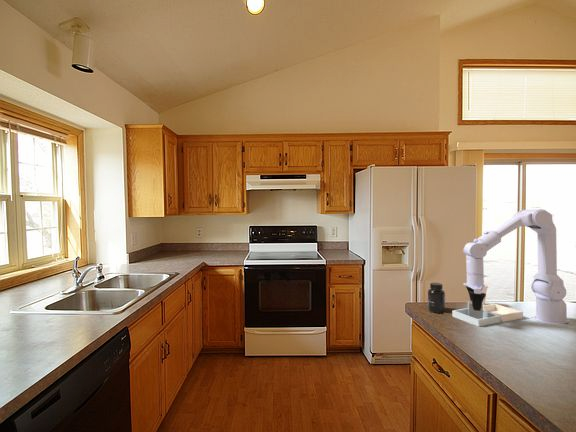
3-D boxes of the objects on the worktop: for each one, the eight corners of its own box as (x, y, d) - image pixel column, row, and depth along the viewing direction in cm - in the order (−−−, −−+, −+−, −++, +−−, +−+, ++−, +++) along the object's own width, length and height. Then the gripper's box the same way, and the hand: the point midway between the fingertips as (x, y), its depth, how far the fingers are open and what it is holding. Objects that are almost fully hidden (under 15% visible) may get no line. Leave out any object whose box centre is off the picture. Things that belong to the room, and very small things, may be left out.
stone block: (467, 316, 118) (467, 300, 118) (481, 318, 116) (480, 301, 116) (469, 320, 114) (469, 303, 114) (482, 321, 112) (482, 305, 112)
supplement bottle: (426, 311, 127) (426, 284, 127) (429, 307, 132) (428, 281, 132) (444, 314, 123) (443, 286, 123) (446, 310, 128) (445, 283, 128)
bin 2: (494, 310, 127) (494, 303, 126) (523, 319, 116) (522, 311, 116) (475, 313, 123) (475, 306, 123) (502, 323, 112) (502, 315, 112)
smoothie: (490, 308, 129) (490, 277, 129) (474, 307, 130) (474, 276, 130) (484, 304, 135) (483, 274, 135) (469, 303, 137) (468, 273, 137)
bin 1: (473, 314, 123) (473, 307, 123) (500, 323, 112) (500, 315, 112) (452, 317, 119) (452, 310, 119) (478, 328, 108) (478, 320, 108)
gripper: (461, 269, 123) (462, 301, 124) (464, 276, 110) (465, 311, 111) (481, 270, 120) (482, 302, 120) (487, 277, 107) (488, 314, 107)
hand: (475, 307), depth 115 cm, fingers open, 7 cm apart
